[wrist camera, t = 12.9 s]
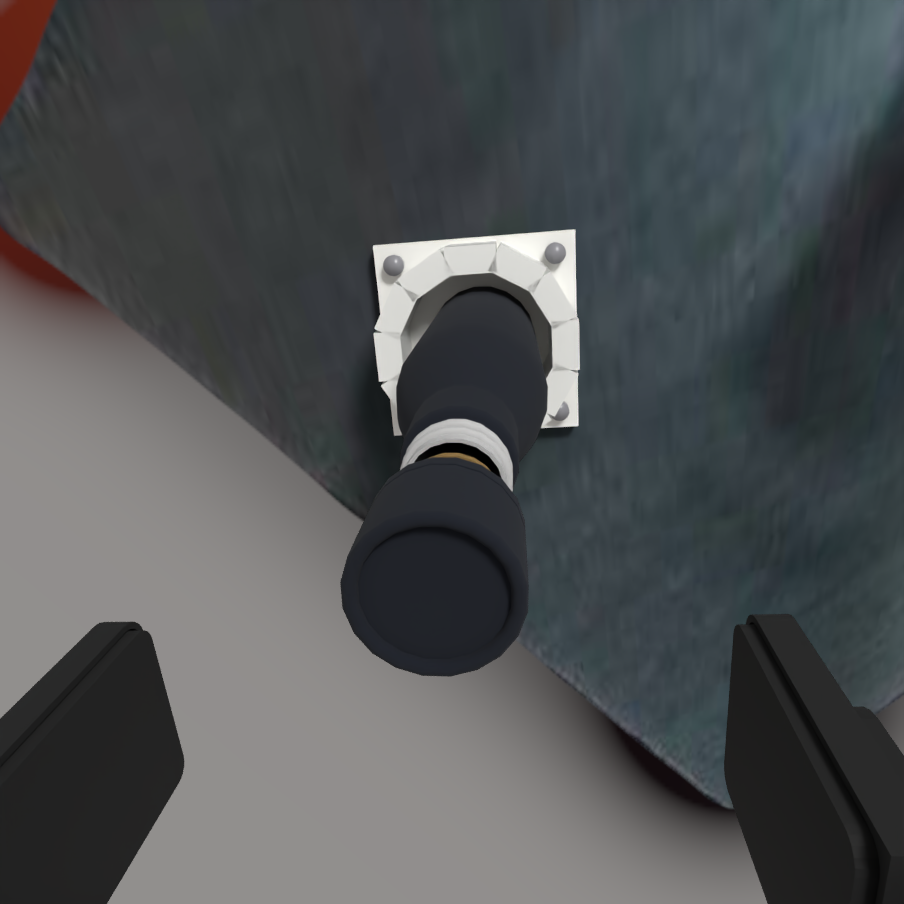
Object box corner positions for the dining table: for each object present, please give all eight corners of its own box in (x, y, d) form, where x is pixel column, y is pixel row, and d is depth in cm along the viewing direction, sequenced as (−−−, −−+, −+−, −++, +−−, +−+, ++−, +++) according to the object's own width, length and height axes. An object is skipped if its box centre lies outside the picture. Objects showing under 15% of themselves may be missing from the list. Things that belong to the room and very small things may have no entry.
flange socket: (573, 229, 40) (582, 231, 35) (576, 421, 44) (585, 446, 39) (375, 245, 41) (359, 249, 37) (396, 430, 45) (383, 456, 41)
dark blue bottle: (543, 293, 41) (627, 478, 12) (525, 395, 43) (561, 750, 15) (438, 278, 41) (284, 426, 13) (425, 380, 43) (269, 703, 15)
